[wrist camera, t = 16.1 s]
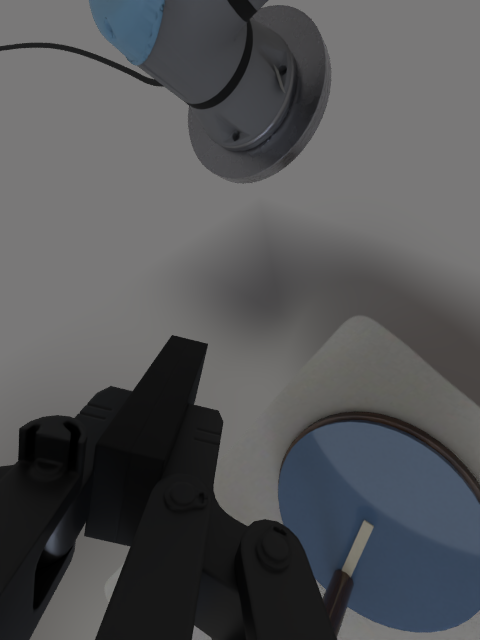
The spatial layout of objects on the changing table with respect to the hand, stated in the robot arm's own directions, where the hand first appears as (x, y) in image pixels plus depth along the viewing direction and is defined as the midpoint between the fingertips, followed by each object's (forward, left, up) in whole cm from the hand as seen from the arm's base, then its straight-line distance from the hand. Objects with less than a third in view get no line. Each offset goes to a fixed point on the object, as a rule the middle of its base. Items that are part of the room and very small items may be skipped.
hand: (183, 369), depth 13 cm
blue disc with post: (+19, -14, -31) cm, 39 cm away
